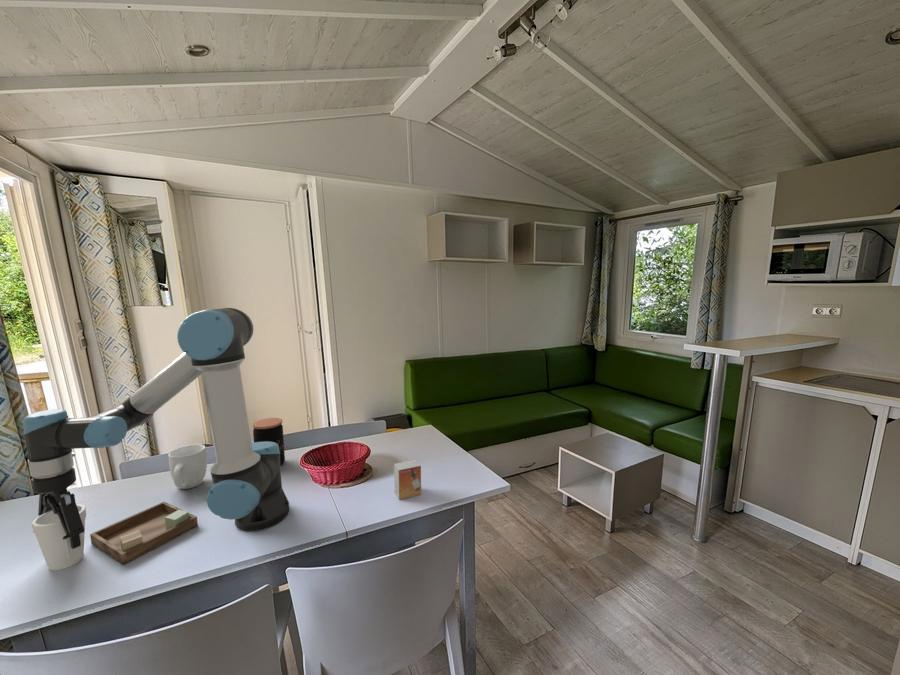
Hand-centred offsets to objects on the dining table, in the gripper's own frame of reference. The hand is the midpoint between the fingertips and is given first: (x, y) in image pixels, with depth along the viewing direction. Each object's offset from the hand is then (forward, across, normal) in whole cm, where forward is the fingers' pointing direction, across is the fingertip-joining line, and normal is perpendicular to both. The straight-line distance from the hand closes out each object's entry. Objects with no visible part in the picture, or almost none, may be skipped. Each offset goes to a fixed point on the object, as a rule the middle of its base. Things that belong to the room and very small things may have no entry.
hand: (64, 550), depth 96 cm
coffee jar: (+3, 0, -60) cm, 60 cm away
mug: (+4, +12, -36) cm, 38 cm away
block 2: (+3, -12, -20) cm, 24 cm away
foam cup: (+4, 0, 0) cm, 4 cm away
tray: (+3, -6, -15) cm, 16 cm away
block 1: (+3, -12, -10) cm, 15 cm away
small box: (+3, -61, -67) cm, 91 cm away
